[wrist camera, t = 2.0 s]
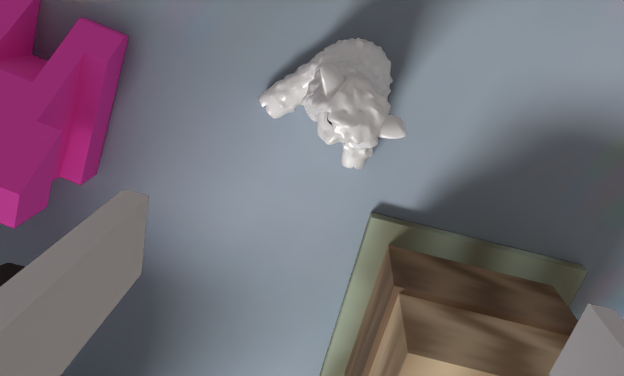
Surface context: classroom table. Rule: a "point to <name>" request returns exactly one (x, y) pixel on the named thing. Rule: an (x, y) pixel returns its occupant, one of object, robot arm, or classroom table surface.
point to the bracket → (51, 107)
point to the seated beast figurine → (342, 97)
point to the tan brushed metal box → (450, 306)
